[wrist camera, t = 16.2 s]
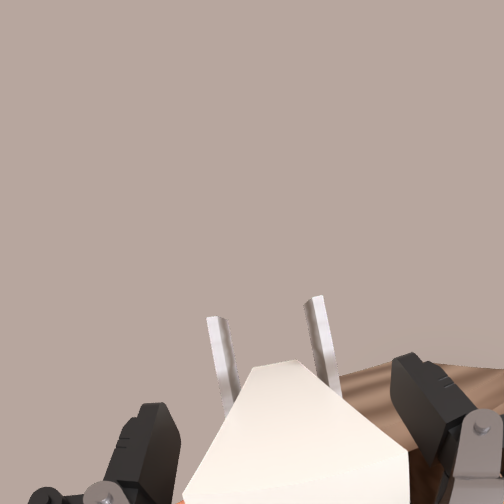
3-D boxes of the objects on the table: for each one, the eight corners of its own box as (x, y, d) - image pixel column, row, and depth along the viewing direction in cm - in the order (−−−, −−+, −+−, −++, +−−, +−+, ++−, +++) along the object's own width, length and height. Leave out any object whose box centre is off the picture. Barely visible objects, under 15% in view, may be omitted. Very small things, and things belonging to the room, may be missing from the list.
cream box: (408, 547, 4) (407, 451, 4) (216, 583, 4) (182, 494, 4) (301, 387, 29) (296, 359, 29) (258, 395, 29) (252, 367, 30)
